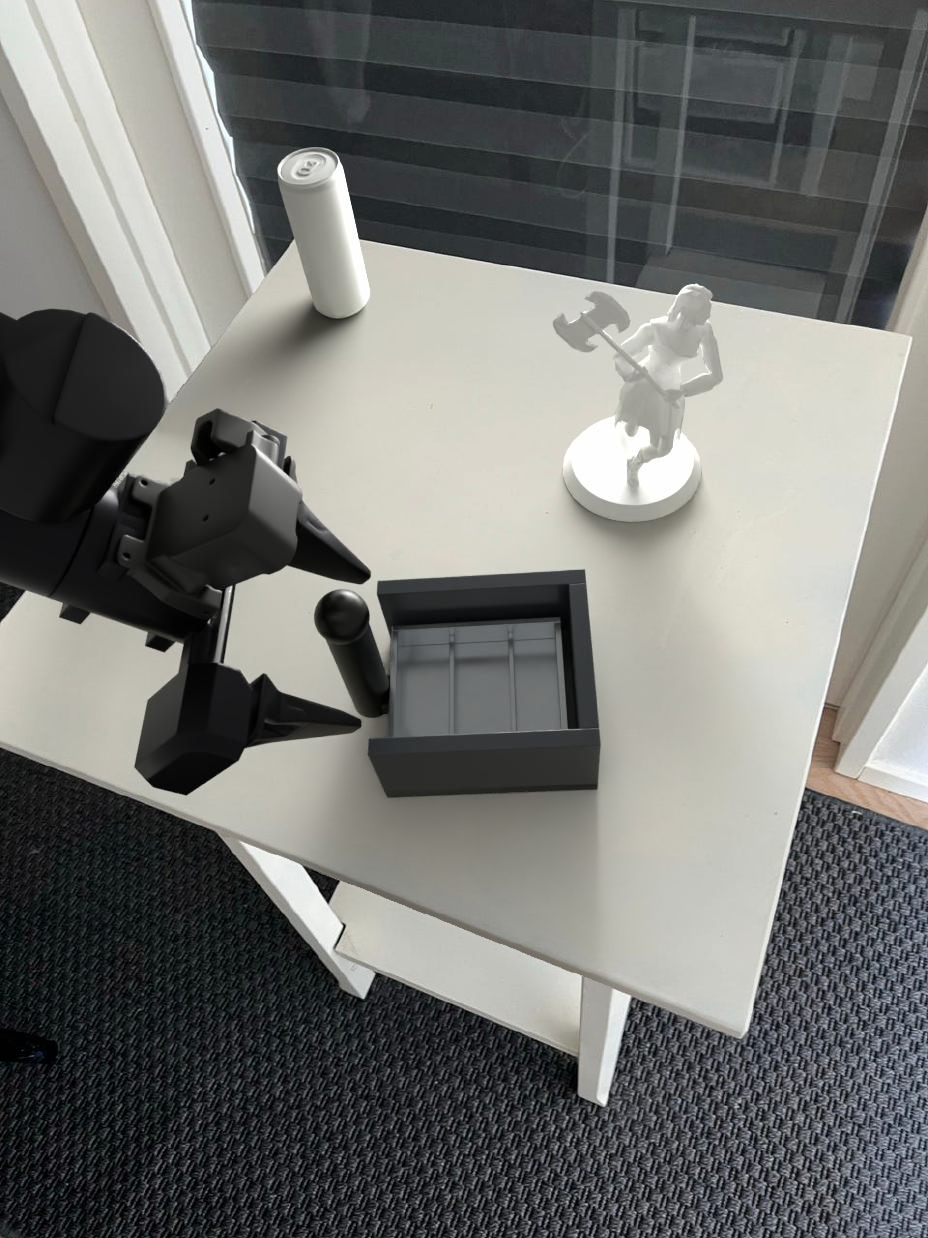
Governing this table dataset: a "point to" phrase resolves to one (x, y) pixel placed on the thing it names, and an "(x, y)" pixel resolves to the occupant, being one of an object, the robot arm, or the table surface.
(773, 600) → the table surface
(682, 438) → the figurine
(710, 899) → the table surface
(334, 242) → the beverage can
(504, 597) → the grey drawer case
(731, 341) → the table surface
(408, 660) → the pull-out drawer
